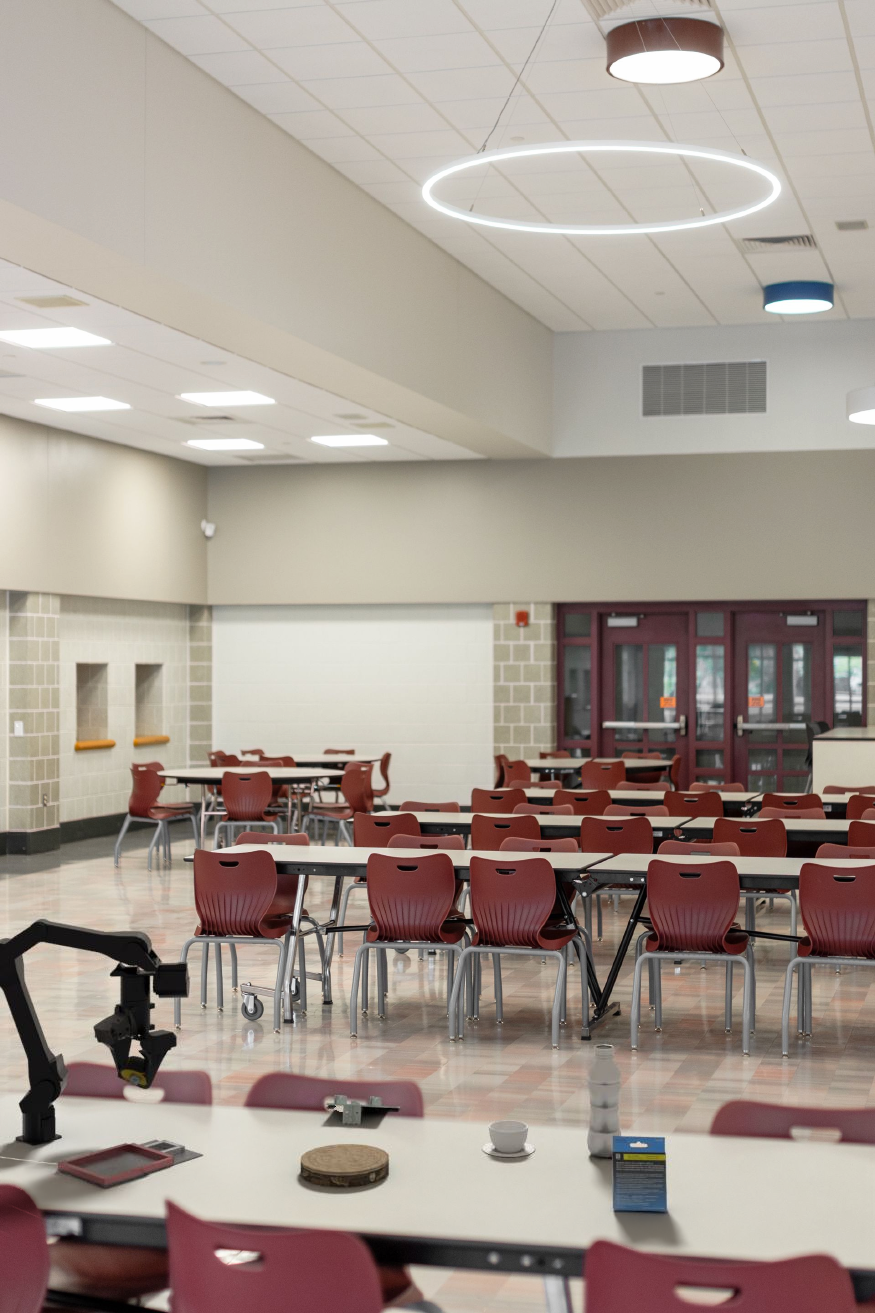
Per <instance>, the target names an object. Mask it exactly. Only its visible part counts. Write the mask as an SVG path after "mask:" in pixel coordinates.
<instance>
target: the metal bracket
mask: <svg viewBox="0 0 875 1313" xmlns="http://www.w3.org/2000/svg"><path fill="white" fill-rule="evenodd" d="M347 1102H348V1096H347V1095H343V1094H340V1095H339V1094H337V1095H336V1094H335V1095H334V1097H333V1102H331V1103H330V1102H329V1103H328V1102H326V1103H325V1105H327V1106H339V1107H342V1106H343V1108H342V1109H343V1110H342V1125H343V1124H346V1125H347V1124H348V1125H361V1120H362V1119H361V1118H362V1107H363V1108H364V1107H366V1108H367V1107H368V1108H382V1109H383V1108H385V1109H387V1108H388V1109H390V1108H391V1109H401V1106H399V1105H397V1106H396V1105H382V1096H370V1097H369V1104H360V1102H359V1101H356V1100H354V1099H351V1100H350V1103H347Z"/></svg>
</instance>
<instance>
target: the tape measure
mask: <svg viewBox="0 0 875 1313" xmlns="http://www.w3.org/2000/svg"><path fill="white" fill-rule="evenodd" d="M117 1078H119V1079H120V1080H123V1081H125V1082H127V1083H129V1084H130V1085H132V1086H135V1087H138V1088H140V1089H143V1090H148V1089H150V1087H151V1086H152V1084H153V1082H152V1083H151V1084H147V1083H146V1078H145V1065H144V1057H141V1056H138V1055H137V1056H136V1055H132V1056H131V1055H129V1057H128V1058H126V1059H125V1060H124V1061H123V1063H122V1066H121V1069H120V1070H119V1072H117ZM155 1078H156V1076H155V1077H154V1079H153V1081H155Z"/></svg>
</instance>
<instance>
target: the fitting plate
mask: <svg viewBox="0 0 875 1313" xmlns="http://www.w3.org/2000/svg"><path fill="white" fill-rule="evenodd" d="M203 1156H204V1154H202V1153H200V1152H196V1151H193V1150H190V1149H187V1148H186V1146H185V1145H183V1144H180V1143H178V1142H173V1141H169V1140H166V1139H162V1140H158V1139H153V1140H149V1141H147V1142H144V1143H139V1144H138V1143H135V1142H131V1143H127V1142H124V1143H121V1144H118V1145H115V1146H110V1147H108V1148H104V1149H100V1150H97V1151H93V1152H90V1153H86V1154H84V1155H80V1156H76V1157H74V1158H73V1157H72V1158H69V1159H67V1160H62V1161H59V1162H58V1161H57V1172H59V1173H62V1174H64V1175H66V1174H67V1176H69V1175H70V1177H72V1178H74V1179H77V1180H80V1181H82V1180H83V1181H82V1182H85V1181H86V1183H89V1184H90V1185H94V1186H96V1187H99V1188H102V1189H104V1190H105V1189H108V1188H110V1187H111V1188H112V1187H114V1186H117V1185H118V1186H119V1185H121V1184H124V1183H127V1182H131V1181H133V1180H137V1179H139V1178H143V1177H146V1176H149V1175H150V1174H151V1173H154V1172H157V1171H160V1170H164V1169H166V1168H169V1167H172V1166H176V1165H179V1164H181V1163H185V1162H188V1161H191V1160H193V1159H194V1160H195V1159H197V1158H200V1157H203Z"/></svg>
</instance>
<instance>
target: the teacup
mask: <svg viewBox="0 0 875 1313" xmlns="http://www.w3.org/2000/svg"><path fill="white" fill-rule="evenodd" d="M488 1131H489V1138H490V1142H487V1143H485V1144H484V1145H483V1146H482V1147H481V1150H482V1152H484V1153H485V1154H488V1155H491V1156H494V1157H499V1158H500V1157H501V1158H517V1157H523V1156H524V1157H525V1156H528V1155H530V1154H533V1153H534V1152H535V1151H536V1147H535V1146H534V1145H533V1144H531V1143H529V1142H527V1140H528V1132H529V1126H528V1124H527V1123H525V1122H523V1121H518V1120H511V1119H509V1120H508V1119H507V1120H505V1119H504V1120H499V1121H494V1122H491V1123H489V1125H488ZM492 1146H494V1148H495V1149H496V1151H498V1152H496V1151H495V1150H492ZM523 1147H524V1148H525V1149H523ZM522 1149H523V1150H522ZM521 1150H522V1151H521ZM520 1151H521V1152H520Z"/></svg>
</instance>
